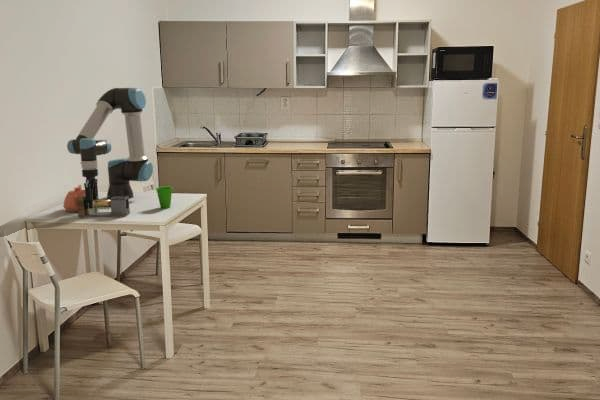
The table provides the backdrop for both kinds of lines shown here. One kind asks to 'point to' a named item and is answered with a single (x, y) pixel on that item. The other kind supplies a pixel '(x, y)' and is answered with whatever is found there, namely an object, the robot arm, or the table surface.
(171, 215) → the table surface
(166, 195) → the cup
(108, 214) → the base board
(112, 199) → the sleeve
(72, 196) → the teapot
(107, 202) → the tube
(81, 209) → the socket
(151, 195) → the table surface
